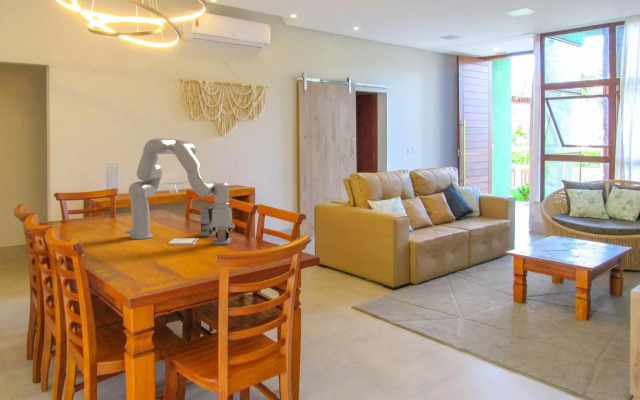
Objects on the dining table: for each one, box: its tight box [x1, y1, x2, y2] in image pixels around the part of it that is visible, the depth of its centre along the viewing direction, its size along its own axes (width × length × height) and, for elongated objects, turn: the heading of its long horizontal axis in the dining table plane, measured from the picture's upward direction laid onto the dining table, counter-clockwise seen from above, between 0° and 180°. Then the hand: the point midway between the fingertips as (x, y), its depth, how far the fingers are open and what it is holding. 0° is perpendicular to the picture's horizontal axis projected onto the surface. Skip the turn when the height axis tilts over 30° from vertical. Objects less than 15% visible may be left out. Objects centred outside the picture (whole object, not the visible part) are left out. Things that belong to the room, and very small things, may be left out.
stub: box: [212, 227, 233, 245], centre depth 266 cm, size 8×12×7 cm, turn 2°
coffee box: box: [199, 206, 216, 237], centre depth 285 cm, size 9×6×16 cm
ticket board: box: [168, 237, 199, 246], centre depth 266 cm, size 13×12×1 cm
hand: (222, 238), depth 266 cm, fingers closed on stub, 4 cm apart
